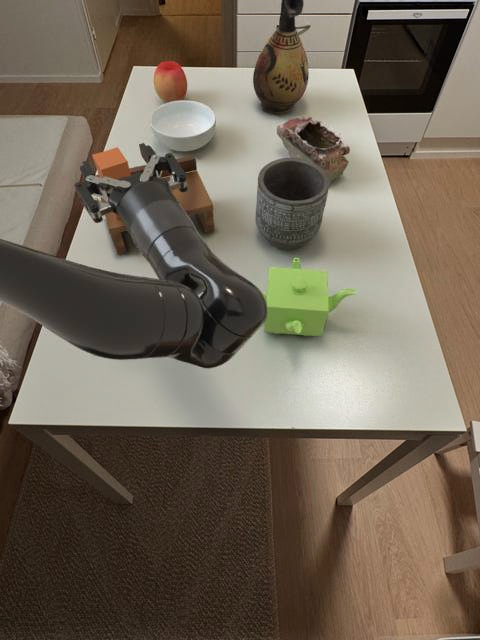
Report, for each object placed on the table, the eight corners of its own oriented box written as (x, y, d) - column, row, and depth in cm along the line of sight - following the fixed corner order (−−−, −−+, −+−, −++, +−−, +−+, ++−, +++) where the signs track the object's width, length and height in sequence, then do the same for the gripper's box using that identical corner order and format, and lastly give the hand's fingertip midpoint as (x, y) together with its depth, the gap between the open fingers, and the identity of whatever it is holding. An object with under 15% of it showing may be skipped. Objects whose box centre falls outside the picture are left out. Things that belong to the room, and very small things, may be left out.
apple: (155, 94, 126) (150, 58, 117) (187, 91, 127) (183, 56, 118) (157, 111, 120) (152, 75, 112) (190, 108, 121) (187, 72, 113)
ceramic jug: (308, 120, 119) (327, -6, 94) (254, 121, 118) (259, -5, 93) (299, 89, 128) (315, -34, 103) (249, 90, 127) (253, -33, 102)
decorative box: (302, 197, 100) (308, 162, 92) (262, 152, 110) (264, 117, 102) (347, 181, 104) (356, 146, 96) (303, 139, 114) (309, 104, 106)
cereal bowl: (158, 165, 107) (153, 140, 101) (150, 128, 116) (146, 103, 110) (222, 156, 109) (221, 131, 103) (210, 121, 118) (208, 96, 112)
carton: (117, 220, 84) (101, 169, 74) (108, 205, 86) (92, 154, 76) (140, 211, 86) (127, 161, 76) (131, 197, 88) (117, 146, 78)
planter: (328, 228, 95) (342, 173, 82) (297, 267, 88) (308, 214, 76) (275, 204, 99) (281, 148, 86) (242, 240, 92) (243, 185, 80)
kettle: (345, 322, 81) (359, 286, 71) (295, 365, 75) (303, 333, 66) (290, 277, 87) (296, 239, 77) (240, 314, 81) (240, 278, 72)
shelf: (118, 256, 89) (104, 217, 80) (107, 215, 96) (93, 175, 87) (214, 232, 94) (212, 193, 84) (197, 194, 101) (193, 154, 91)
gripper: (208, 184, 51) (155, 119, 59) (97, 224, 47) (56, 148, 55) (211, 228, 57) (163, 164, 65) (113, 267, 53) (74, 194, 61)
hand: (114, 157), depth 60 cm, fingers open, 8 cm apart
